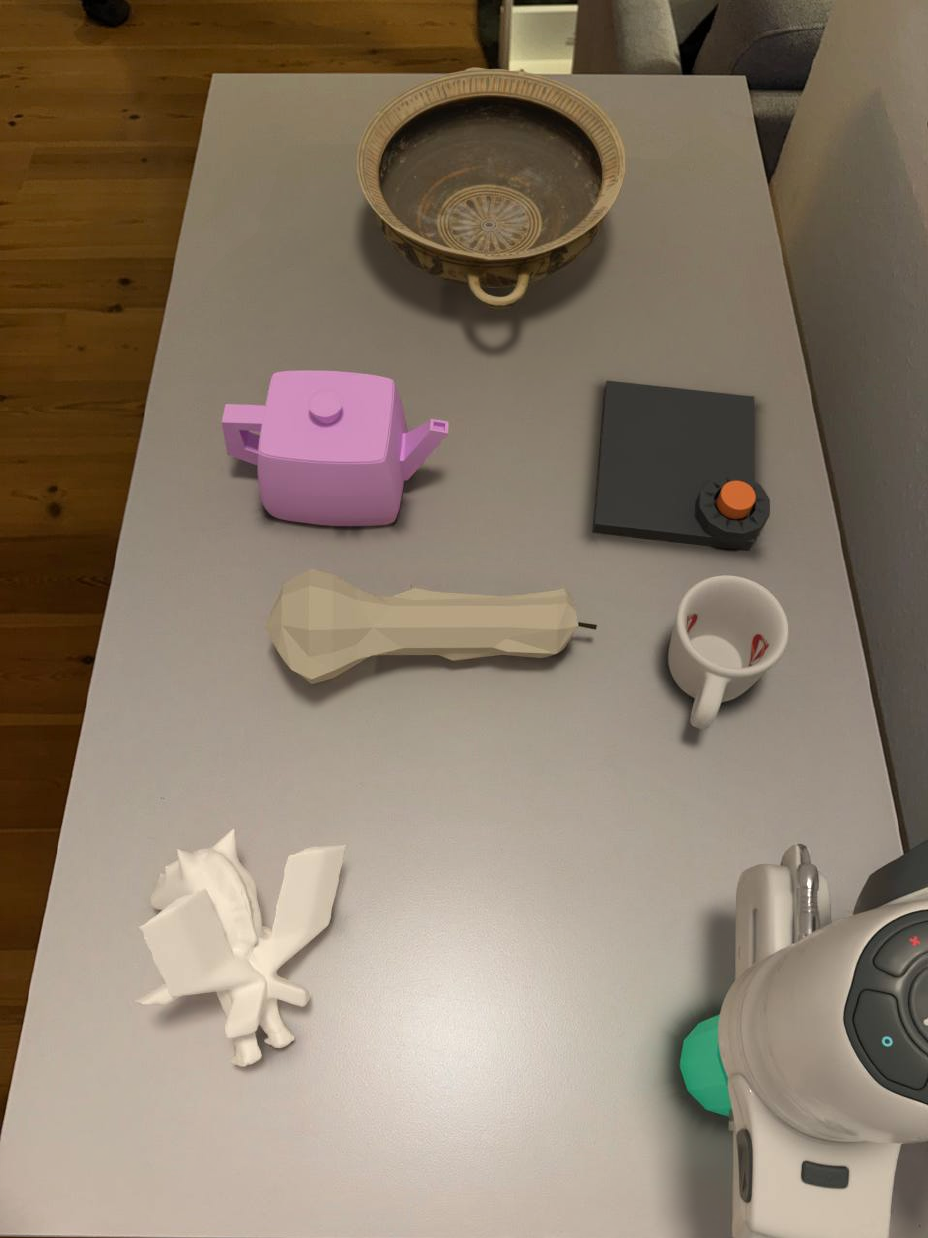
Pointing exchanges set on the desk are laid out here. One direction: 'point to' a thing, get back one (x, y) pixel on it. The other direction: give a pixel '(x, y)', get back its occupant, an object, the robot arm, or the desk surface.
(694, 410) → the scale
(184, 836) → the desk surface
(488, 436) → the desk surface
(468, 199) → the ceramic bowl
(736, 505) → the button
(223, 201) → the desk surface
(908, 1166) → the desk surface
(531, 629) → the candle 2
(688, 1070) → the candle
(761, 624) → the cup
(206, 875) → the figurine
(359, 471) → the teapot
